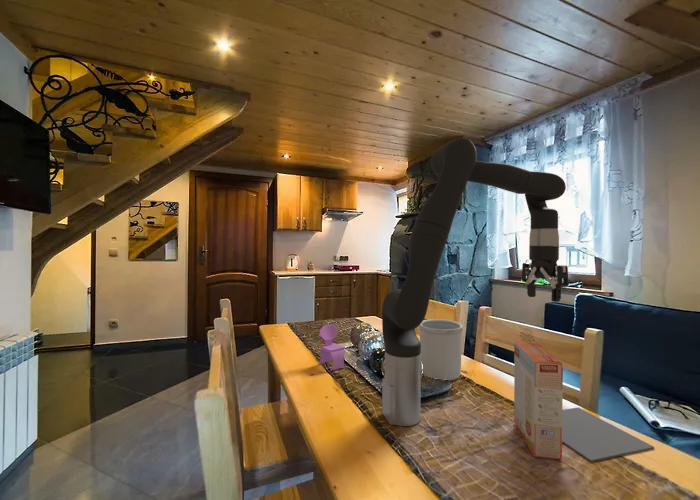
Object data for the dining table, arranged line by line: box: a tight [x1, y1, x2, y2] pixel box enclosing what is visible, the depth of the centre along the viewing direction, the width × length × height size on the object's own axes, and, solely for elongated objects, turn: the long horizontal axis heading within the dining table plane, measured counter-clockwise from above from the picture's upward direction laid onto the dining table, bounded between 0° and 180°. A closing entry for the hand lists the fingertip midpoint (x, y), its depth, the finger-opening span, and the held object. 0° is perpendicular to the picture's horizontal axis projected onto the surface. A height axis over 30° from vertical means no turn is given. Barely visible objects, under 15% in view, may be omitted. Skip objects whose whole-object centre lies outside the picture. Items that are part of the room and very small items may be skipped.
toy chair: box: [317, 323, 346, 372], centre depth 120 cm, size 8×9×15 cm
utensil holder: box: [418, 318, 464, 381], centre depth 114 cm, size 15×15×18 cm
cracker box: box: [513, 341, 564, 460], centre depth 74 cm, size 14×6×21 cm, turn 168°
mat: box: [562, 407, 655, 463], centre depth 78 cm, size 18×18×1 cm
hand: (543, 299), depth 96 cm, fingers open, 8 cm apart
